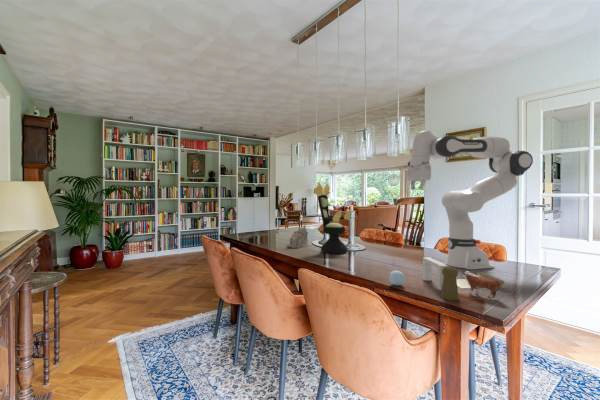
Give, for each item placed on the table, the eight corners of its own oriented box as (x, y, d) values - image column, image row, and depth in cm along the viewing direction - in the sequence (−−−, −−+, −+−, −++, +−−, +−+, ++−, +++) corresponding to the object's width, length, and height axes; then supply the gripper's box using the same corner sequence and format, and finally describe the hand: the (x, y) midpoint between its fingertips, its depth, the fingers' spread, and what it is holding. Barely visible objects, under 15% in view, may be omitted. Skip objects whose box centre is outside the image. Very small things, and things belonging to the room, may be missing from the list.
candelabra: (341, 256, 181) (341, 180, 180) (308, 252, 192) (308, 180, 191) (352, 250, 198) (352, 181, 196) (321, 247, 209) (321, 181, 207)
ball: (401, 282, 129) (401, 268, 129) (406, 287, 123) (407, 272, 123) (387, 283, 129) (387, 269, 129) (392, 287, 123) (392, 272, 123)
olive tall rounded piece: (437, 294, 115) (437, 265, 115) (452, 294, 115) (453, 265, 115) (446, 300, 109) (446, 269, 109) (462, 299, 109) (463, 269, 109)
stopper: (481, 278, 136) (481, 271, 136) (504, 288, 122) (504, 281, 122) (476, 278, 136) (477, 271, 136) (499, 288, 122) (499, 281, 122)
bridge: (429, 279, 135) (429, 257, 134) (447, 290, 120) (448, 265, 120) (422, 279, 135) (422, 257, 134) (440, 290, 120) (440, 265, 119)
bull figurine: (464, 289, 121) (465, 269, 120) (501, 299, 109) (502, 277, 109) (458, 291, 118) (458, 270, 118) (495, 302, 107) (496, 279, 107)
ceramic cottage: (300, 242, 229) (299, 222, 227) (312, 246, 215) (312, 225, 213) (282, 245, 221) (281, 225, 219) (293, 250, 207) (292, 228, 205)
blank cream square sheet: (471, 279, 134) (471, 278, 134) (490, 288, 122) (490, 287, 122) (445, 279, 134) (445, 279, 134) (461, 288, 122) (461, 288, 122)
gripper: (436, 161, 146) (432, 190, 147) (417, 165, 167) (414, 190, 167) (423, 160, 146) (419, 188, 146) (406, 163, 167) (403, 189, 167)
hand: (416, 189), depth 157 cm, fingers open, 8 cm apart
